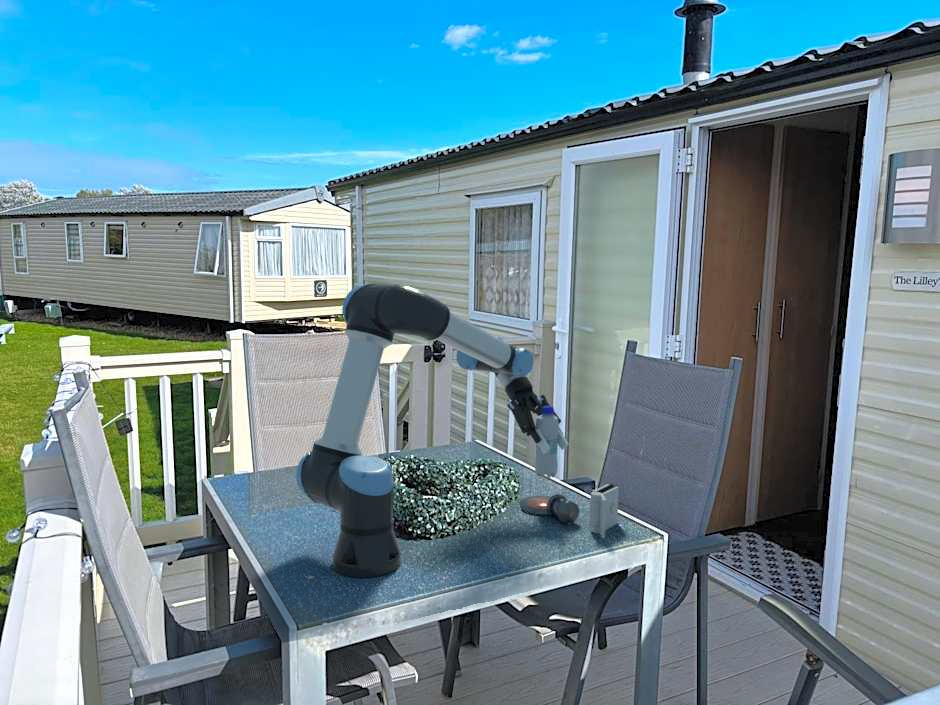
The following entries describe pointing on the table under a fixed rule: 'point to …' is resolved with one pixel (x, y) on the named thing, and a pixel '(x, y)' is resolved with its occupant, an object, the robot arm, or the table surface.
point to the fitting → (551, 507)
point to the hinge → (604, 508)
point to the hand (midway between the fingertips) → (556, 449)
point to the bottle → (550, 431)
